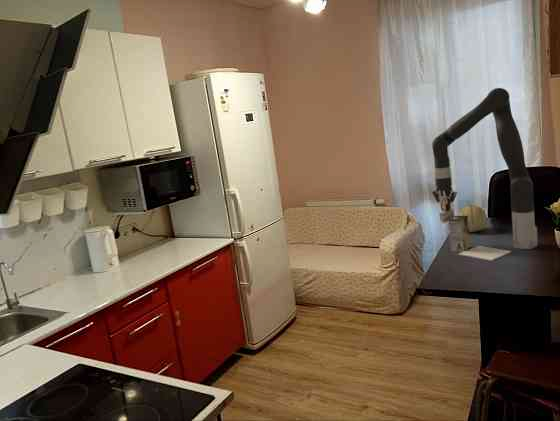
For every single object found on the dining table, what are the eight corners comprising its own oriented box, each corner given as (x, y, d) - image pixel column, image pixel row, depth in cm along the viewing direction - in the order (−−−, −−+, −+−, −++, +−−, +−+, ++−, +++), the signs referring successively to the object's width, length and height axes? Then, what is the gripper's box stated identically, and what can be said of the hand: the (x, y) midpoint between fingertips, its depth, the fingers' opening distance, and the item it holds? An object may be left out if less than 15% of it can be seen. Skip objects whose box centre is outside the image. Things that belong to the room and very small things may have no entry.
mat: (511, 252, 210) (511, 251, 210) (491, 260, 202) (491, 259, 202) (478, 246, 224) (478, 245, 224) (458, 254, 217) (458, 253, 217)
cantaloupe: (470, 236, 243) (468, 209, 240) (453, 231, 257) (451, 205, 254) (494, 231, 246) (492, 204, 244) (475, 226, 260) (474, 201, 258)
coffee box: (457, 246, 230) (455, 215, 227) (470, 246, 226) (468, 215, 223) (451, 251, 223) (448, 219, 221) (464, 252, 219) (462, 220, 216)
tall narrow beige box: (454, 217, 230) (450, 193, 227) (444, 223, 226) (439, 198, 223) (451, 217, 231) (446, 193, 228) (440, 222, 228) (436, 198, 224)
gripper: (460, 175, 220) (462, 210, 223) (436, 175, 232) (439, 208, 235) (449, 178, 217) (452, 213, 220) (426, 177, 228) (429, 211, 231)
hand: (445, 210), depth 227 cm, fingers closed on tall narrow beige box, 2 cm apart
